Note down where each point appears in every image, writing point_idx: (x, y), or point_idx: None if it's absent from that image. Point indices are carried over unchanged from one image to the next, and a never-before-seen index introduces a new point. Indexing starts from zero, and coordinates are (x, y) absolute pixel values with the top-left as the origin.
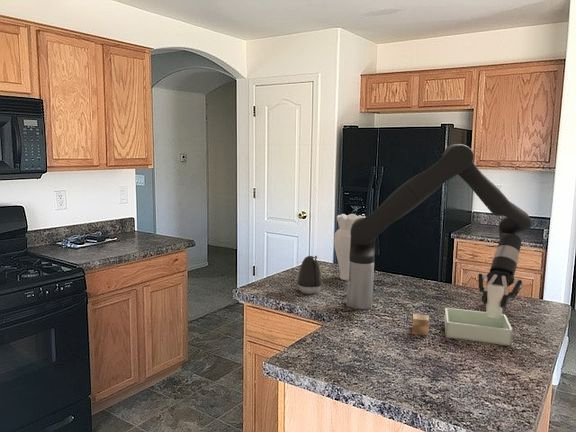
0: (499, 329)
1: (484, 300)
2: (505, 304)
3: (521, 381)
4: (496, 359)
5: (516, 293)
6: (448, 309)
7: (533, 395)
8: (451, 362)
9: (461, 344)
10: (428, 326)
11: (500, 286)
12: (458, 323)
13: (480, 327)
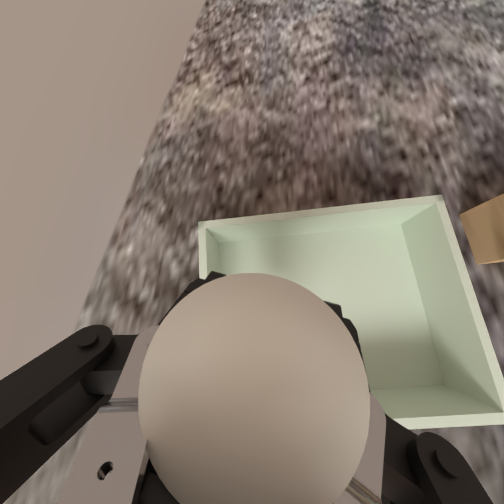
0: (243, 218)
1: (332, 306)
2: (195, 281)
3: (215, 64)
4: (257, 136)
5: (52, 405)
6: (490, 409)
7: (202, 28)
8: (355, 78)
9: (348, 188)
10: (489, 200)
11: (188, 389)
12: (396, 203)
13: (310, 211)
